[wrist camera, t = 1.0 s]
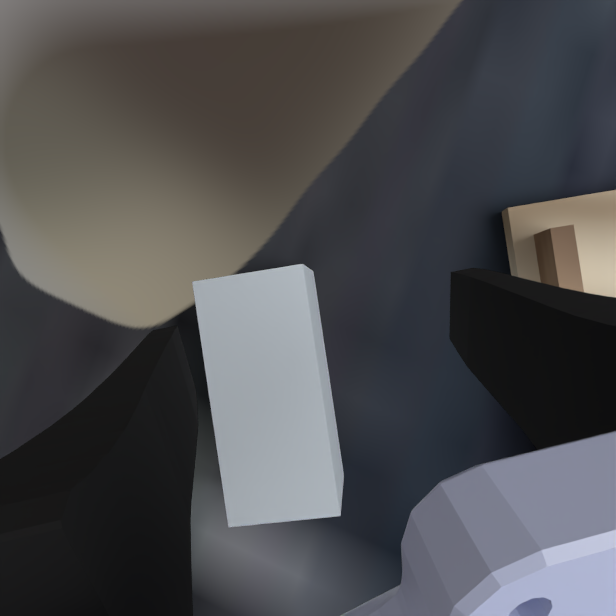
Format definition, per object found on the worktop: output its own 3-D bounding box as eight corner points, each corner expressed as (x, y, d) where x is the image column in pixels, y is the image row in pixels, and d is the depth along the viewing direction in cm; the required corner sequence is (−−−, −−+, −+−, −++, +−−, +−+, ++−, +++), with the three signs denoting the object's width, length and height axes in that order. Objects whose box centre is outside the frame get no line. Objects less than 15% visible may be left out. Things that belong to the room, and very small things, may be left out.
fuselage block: (343, 473, 25) (340, 516, 20) (253, 484, 26) (228, 527, 21) (313, 271, 25) (302, 263, 20) (224, 285, 26) (192, 281, 21)
